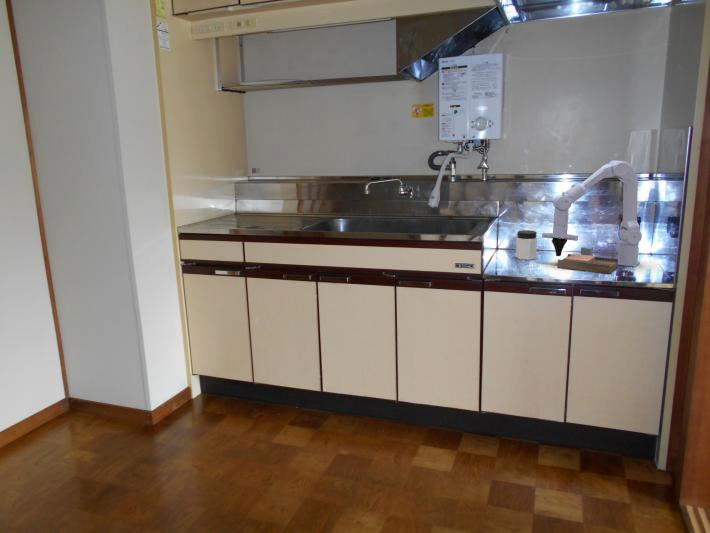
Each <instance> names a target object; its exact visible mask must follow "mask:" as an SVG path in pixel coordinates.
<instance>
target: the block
mask: <svg viewBox="0 0 710 533" xmlns="http://www.w3.org/2000/svg"><path fill="white" fill-rule="evenodd" d="M593 253H594V247H593V246H586V245H585V246H582V247H580V254H581V255H590V256H594V255H593Z"/></svg>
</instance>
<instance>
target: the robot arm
mask: <svg viewBox="0 0 710 533" xmlns="http://www.w3.org/2000/svg"><path fill="white" fill-rule="evenodd" d="M614 177H615V178H617V179H618V180H620V181H621V182H622V183H623V188H622V189H623V192H622V194H623V196H622V199H623V200H622V221H621V223H620V228H619V230H618V232H617V236H618V238H619V239H620V240H619V243H618V244H619V245H618V256H617V259H618V266H625V267H626V266H627V267H637V266H638V265H639V264H640V263H641V261H639V260H638V259H639V250H640V249H639V244H640V242H641V240H642V234H643V233H642V231H641V229H640V224H639V223H638V193H639V192H638V190H639V188H638V187H639V186H638V185H639V177H638V175H637V174H636V172H635V171H634V169H633V166H632V165H631V164H630V163H628V162H627V161H625V160H616V159H613V160H610V161H609V162H607V163H606V164H604V165H602V166H601V167H600V168H599V169H598V170H596V171H595V172H593V173H592V174H591V175H590V176H589V177H587V178H586V179H585V180H584V181H582V182H581V183H580V182H578V183H572V184H571V185H570V187H569V188H568V189H567V190H566V191H562V192H561V194H560V195H557V196H555V198H554V200H553V201H552V205H553V207H554V213H553V223H552V224H553V225H552V226H553V227H552V232H542V233H541V238H542V239H551V243H552V246H553V247H554V252H555V256H556V257H562V256H561V255H562V252H563V250H564V247H565V245H566V244H567V242H568V241H574V242H577V241H578V240H579V235H576V234H575V235H573V234H569V233H568V229H569V228H568V227H569V212H570V210H569V209H570V208H571V206H572V204H574V203H575V202H577V201H578V200H580V199H582V197H583V196H585V195H586V194H587V190H588V189H590V188H591V187H593V186H594V185H596V184H598V183H599V182H600V181H602V180H603V179H607V178H608V179H609V178H614Z"/></svg>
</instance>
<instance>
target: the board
mask: <svg viewBox="0 0 710 533" xmlns="http://www.w3.org/2000/svg"><path fill="white" fill-rule="evenodd" d="M570 255H572V254H571V253H568V254H567V256H565V257H564V258H561V259H560V258H559V259H557V269H563V270H571V271H578V272H586V271H588V273H594V272H595V274H604V275H610V274H611V273H612V272H613V271H615V270H616V269H618V266H619V265H618V258H610V257H601V256H600V257H599V256H595V260H594V261H592V262H591V263H586V262H577V261H568V260H565V258H567V257H569V256H570Z"/></svg>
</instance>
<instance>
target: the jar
mask: <svg viewBox="0 0 710 533" xmlns="http://www.w3.org/2000/svg"><path fill="white" fill-rule="evenodd" d="M515 240H516V242H515V258H516V259H518V260H524V261H525V260H526V261H531V260H536V259H537V248H538V237H537V231H535V230H529V229H528V230H527V229H523V230H518V231H517V235H516V239H515Z"/></svg>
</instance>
